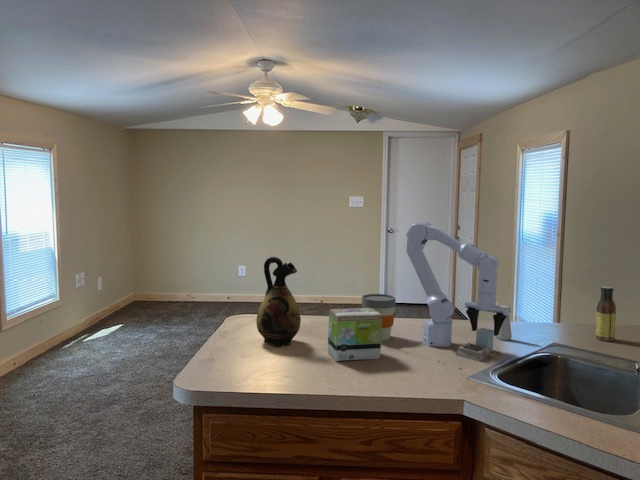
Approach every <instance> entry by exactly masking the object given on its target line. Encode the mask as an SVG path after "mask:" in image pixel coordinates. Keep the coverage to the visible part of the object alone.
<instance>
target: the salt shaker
mask: <svg viewBox="0 0 640 480" xmlns="http://www.w3.org/2000/svg"><path fill="white" fill-rule="evenodd" d="M498 306H499V305H498ZM499 307H503V308H507V309H509V315H507V317H506V318H505V320H504V322H503V324H502V326H501V328H500V331H499V335H497V336H495V339H496V340H499V341H503V342H504V341H510V340H511V339H512V336H513V335H512V328H511V319H510V314H511V313H512V308H511V306H509V305H500V306H499Z"/></svg>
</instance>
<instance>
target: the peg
mask: <svg viewBox="0 0 640 480" xmlns="http://www.w3.org/2000/svg"><path fill="white" fill-rule="evenodd" d="M475 336H476V338H475V345H479V346H484V347H488V348H490V352H491V351H493V350H494V329H490V328H485V327H481V328H479V329H478V328H477V330H476V335H475Z"/></svg>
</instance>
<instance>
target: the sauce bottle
mask: <svg viewBox="0 0 640 480" xmlns="http://www.w3.org/2000/svg"><path fill="white" fill-rule="evenodd" d="M614 291H615V290H614V287H613V286H608V285H607V286H605V285H603V286H600V299H599V301H598V304H597V307H596V316H595V317H596V319H595V320H596V322H595V336H596V337H595V338H596V339H598V340H600V341H601V342H602V341H604V342H614V341H615V339H616V338H615V337H616V322H617V312H616V310H617V306H616V303H615V301H614V298H613V295H614V294H613V293H614Z"/></svg>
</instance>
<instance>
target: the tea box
mask: <svg viewBox="0 0 640 480" xmlns="http://www.w3.org/2000/svg"><path fill="white" fill-rule="evenodd" d="M381 331H382V315H381V314H380V313H378V312H377V311H375V310H374V309H372V308H363V307H362V308H361V307H360V308H359V307H358V308H330V309H329V312H328V332H327V333H328V334H327V353H328V354H329V355H330V356H331V357H332V358H333V359H334V361H335V362H339V361H340V362H342V361H354V360H355V361H357V360H361V361H362V360H379V359H381V352H382V351H381V348H382V341H381Z"/></svg>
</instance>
